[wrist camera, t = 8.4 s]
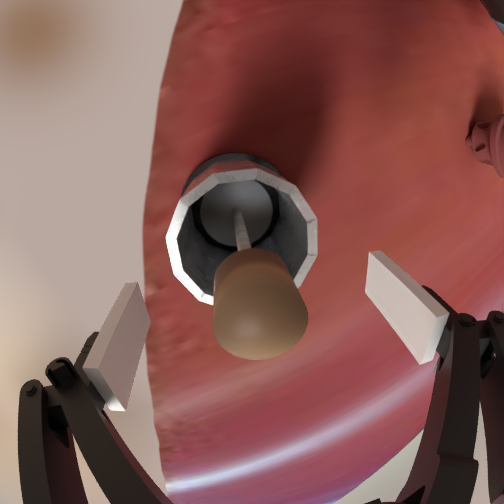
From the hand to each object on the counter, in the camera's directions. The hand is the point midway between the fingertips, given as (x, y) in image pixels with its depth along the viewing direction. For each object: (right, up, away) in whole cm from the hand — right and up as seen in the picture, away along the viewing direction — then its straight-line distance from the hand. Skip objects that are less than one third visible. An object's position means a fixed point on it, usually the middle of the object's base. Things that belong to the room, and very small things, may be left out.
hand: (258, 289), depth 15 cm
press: (-2, +6, +18) cm, 19 cm away
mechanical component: (+37, +20, +17) cm, 45 cm away
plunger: (-2, +7, +17) cm, 18 cm away
